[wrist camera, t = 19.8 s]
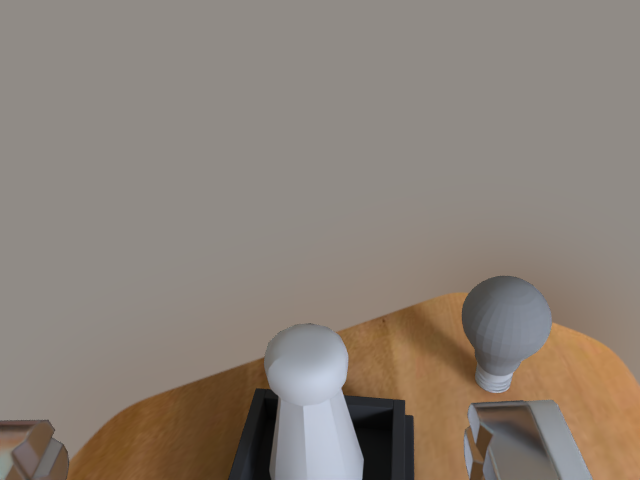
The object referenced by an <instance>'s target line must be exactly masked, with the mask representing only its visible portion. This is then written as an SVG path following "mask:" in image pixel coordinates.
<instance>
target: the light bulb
mask: <svg viewBox="0 0 640 480" xmlns="http://www.w3.org/2000/svg"><path fill="white" fill-rule="evenodd" d="M462 323H463V328H464V332H465V334H466V336H467V338H468V339H469V341H470V343H471V344H472V345H473V347H474V349H475V357H476V360H477V368H476V373H475V380H476V382H477V384H478V385H479V386H480V387H481V388H483V389H484V390H486V391H489V392H492V393H501V392H504V391H506V390H507V389H508V388H509V387H510V383H511V379H512V375H513V372H514V371H515V370H516V369H517V368H518V367H519V365H520V363H521V361H523V360H524V359H526V358H528V357H530V356H531V355H533V354H534V353H536V352H537V351H538V350H539V349H540V348H541V347H542V346H543V345H544V343H545V342H546V340H547V338H548V336H549V334H550V330H551V326H552V318H551V312H550V309H549V306H548V304H547V301H546V300H545V298H544V297H543V295H542V294H541V293H540V292H539V291H538V290H537V289H536V288H535V287H534V286H533V285H531V284H530V283H529V282H527V281H524V280H523V279H520V278H517V277H512V276H497V277H493V278H490V279H487V280H485V281H483V282H481V283H480V284H478V285H477V286H476V287H474V288H473V289H472V291H471V292H470V293H469V294H468V296H467V297H466V299H465V301H464V304H463V308H462Z"/></svg>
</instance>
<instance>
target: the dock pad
mask: <svg viewBox="0 0 640 480" xmlns="http://www.w3.org/2000/svg"><path fill="white" fill-rule="evenodd" d="M278 398H279V396H278V395H277V394H275V393H274V392H273V391H272V390H271V389H267V390H266V389H259V388H256V390H255V393H254V396H253V400H252V403H251V406H250V410H249V413H248V416H247V419H246V423H245V426H244V429H243V432H242V436H241V439H240V442H239V446H238V449H237V452H236V455H235V459H234V462H233V465H232V469H231V472H230V475H229V478H228V480H271V476H270V472H269V468H270V461H271V453H272V446H273V439H274V431H275V424H276V416H277V409H278ZM344 399H345V402H346V405H347V408H348V411H349V414H350V418H351V421H352V424H353V427H354V430H355V433H356V437H357V440H358V443H359V446H360V449H361V452H362V456H363V459H364V463H363V474H362V480H414V420H413V416H412V415H405V400H395V399H394V400H393V399H384V398H371V397H359V396H347V395H344Z"/></svg>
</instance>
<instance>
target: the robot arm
mask: <svg viewBox="0 0 640 480" xmlns="http://www.w3.org/2000/svg"><path fill="white" fill-rule="evenodd" d="M468 419H469V423H470V426H469V427H468V428H467V429H465V435H464V456H465V461H466V467H467V471H468V475H469V480H593V478H592V476H591V474H590V472H589V470H588V468H587V466H586V464H585V461H584V459H583V457H582V455H581V453H580V451H579V449H578V447H577V445H576V442H575V440H574V438H573V436H572V434H571V432H570V430H569V428H568V425H567V423H566V421H565V419H564V417H563V415H562V413H561V411H560V408H559V406H558V405H557V404H556V403H555V402H554V401H553V400H537V401H523V400H520V401H501V402H482V403H471V404H470V406H469V409H468ZM54 431H55V429H54V428H53V426H52V425H51V423H50V422H49V420H10V421H8V420H7V421H0V480H66V479H67V474H68V468H69V458H68V452H67V450H66V448H65V446H64V445H63V444H62V443H61V442H59V441H57V440H56V439H54V438H52V435H53V434H54Z"/></svg>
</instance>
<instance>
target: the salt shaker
mask: <svg viewBox="0 0 640 480" xmlns="http://www.w3.org/2000/svg"><path fill="white" fill-rule="evenodd" d="M264 367H265V371H266V375H267V379H268V382H269V386H270V388H271V390H272V391H273V392H274V393H275V394H277V395H278V396H279V398H278V409H277V416H276V424H275V431H274V439H273V446H272V453H271V461H270V468H269V472H270V476H271V480H362V474H363V463H364V459H363V456H362V452H361V449H360V446H359V443H358V440H357V437H356V433H355V430H354V427H353V424H352V421H351V418H350V414H349V411H348V408H347V405H346V402H345V399H344V395H343V392H342V389H341V387H342V386H343V384H344V383H345V381H346V376H347V369H348V353H347V350H346V347H345V345H344V343H343V341H342V339H341V337H340V336H339V335H338V334H337V333H335V332H334V331H332V330H331V329H330V328H328V327H325V326H320V325H315V324H311V323H309V324H297V325H294V326H292V327H289V328H287V329H285V330H283V331H280V332H279V333H278V334H277V335H276V336H275V337H274V338H273V339H272V340H271V341H270V342H269V343H268V346H267V350H266V353H265V358H264Z"/></svg>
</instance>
